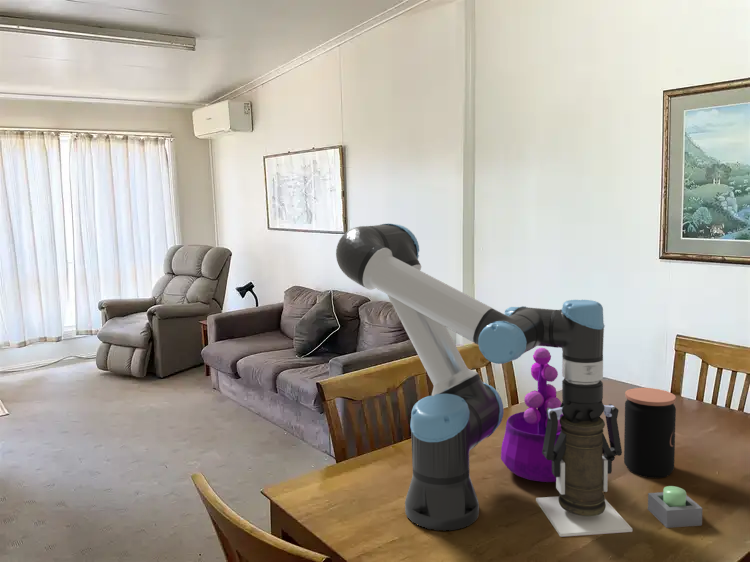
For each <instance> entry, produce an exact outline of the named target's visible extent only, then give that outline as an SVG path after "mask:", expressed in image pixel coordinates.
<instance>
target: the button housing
mask: <svg viewBox="0 0 750 562" xmlns="http://www.w3.org/2000/svg"><path fill="white" fill-rule="evenodd" d="M647 511H649V512H650V513H651V514H652V515H653V516H654V517H655V518H656V519H657V520H658V521H659V522H660V523H661V524H662V525H663V526H664V527H665V528H666V529H669V528H670V529H671V528H682V527H683V528H684V527H685V528H686V527H698V526H699V527H700V526H702V525H703V507H702V506H700V505H699V503H697V502H696V501H695V500H693V499H692V498H691V497H690V496H689V495H687V494H686V506H678V507H669V506H668V505H667V504H666V503H665V502H664V501H663V491H661V492H648V493H647Z"/></svg>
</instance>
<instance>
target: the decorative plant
mask: <svg viewBox="0 0 750 562" xmlns="http://www.w3.org/2000/svg"><path fill="white" fill-rule="evenodd" d="M532 357H533V360H534V363H533V364H532V365H531V367H530V374H531V376H532V379H534V380H535V381H536V382H537V390H532V391H530V392H527V393H526V394H525V396H524V401H523V402H524V403H525V405H526V407H528V408H527V409H526V410H525V411H521V412H517V413H515V414H512V415H510V416H509V417H507V421H506V424H505V431H504V436H503V439H502V443H501V452H500V460H501V461H502V463H503V464H504V465H505V467H507V469H508V470H509V471H510V473H513V474H515V475H516V476H517V477H521V478H523V479H527V480H530V481H536V482H542V483H545V482H546V483H556V477H555V476H554V475H553V473H552V460H547V459H546V457H545V456H544V455H543V454H542V450H543V445H544V439H545V433H546V427H547V421H548V417H547V412H546V410H547V408H551V409H555V408H559V407H560V406H561V404H562V402H561V400H560V399H559V398H558V397H557V389H556V387H555V386H554V385H553V384H551V383H552V382H554V381H556V379H557V378H558V376H559V373H558V370H557V369H556V368H555V367H554V366H552V365H550V364H549V363H550V361H551V360H552V359H551V357H552V355H551V352H550V350H548V349H547V348H545V347H539V348H537V349H535V351H534V353H533V355H532ZM548 382H550V383H548ZM561 416H563V414H561V415H560V418H561ZM561 430H562V429H561V424H560V419H559V420H558V428H557V433H556V439H555V444H556V442H557V439H558V437H559V435H560V432H561ZM554 446H555V445H554Z"/></svg>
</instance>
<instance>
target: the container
mask: <svg viewBox="0 0 750 562" xmlns="http://www.w3.org/2000/svg"><path fill="white" fill-rule="evenodd" d="M560 424H561V429H562V432H563V433H564V434H566V435H567V436H566V451H565V453H564V455H563V457H562V460H563V461H564V462H565V494H563V495H561V494H560V492H559V491H558V493H559V504H560V506H561V507H562V508H563V509H564V510H566V511H568V512H570V513H572V514H576V515H580V516H597V515H600V514H601V513H603V512H604V510H605V507H606V504H605V501H604V500H605V499H606V495H605V493H604V492H603V480H602V457H603V450H602V445H603V440H602V434H604V428H605V426H606V423H605V420H604V419H603V418H602V417H601V416H600V417H599V418H598V421H597V422H592V421H581V422H579V423H572V422H570V421H568V420H567V419H566V417H565V416H564V415H563V416H561V418H560Z"/></svg>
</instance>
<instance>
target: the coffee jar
mask: <svg viewBox="0 0 750 562" xmlns="http://www.w3.org/2000/svg"><path fill="white" fill-rule="evenodd" d="M624 392H625V394H624V395H625V399H626V400H625V403H624V434H623V435H624V439H623V440H624V442H623V443H624V445H623V447H624V448H623V462H624V463H623V464H624V465H625V466H626V468H627V470H628V471H629V472H631V473H633V474H634V475H637V476H640V477H644V478H650V479H661V478H666V477H669V476H670V475H671V474H672V472H673V471H674V470H675V454H676V449H675V448H676V447H675V446H676V422H677V421H676V419H677V418H676V415H677V412H676V411H677V409H676V405H675V403H676V401H677V397H676V395H675V394H674V393H672V392H669V391H668V390H664V389H659V388H653V387H652V388H651V387H635V388H630V389H627V390H626V391H624Z"/></svg>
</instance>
